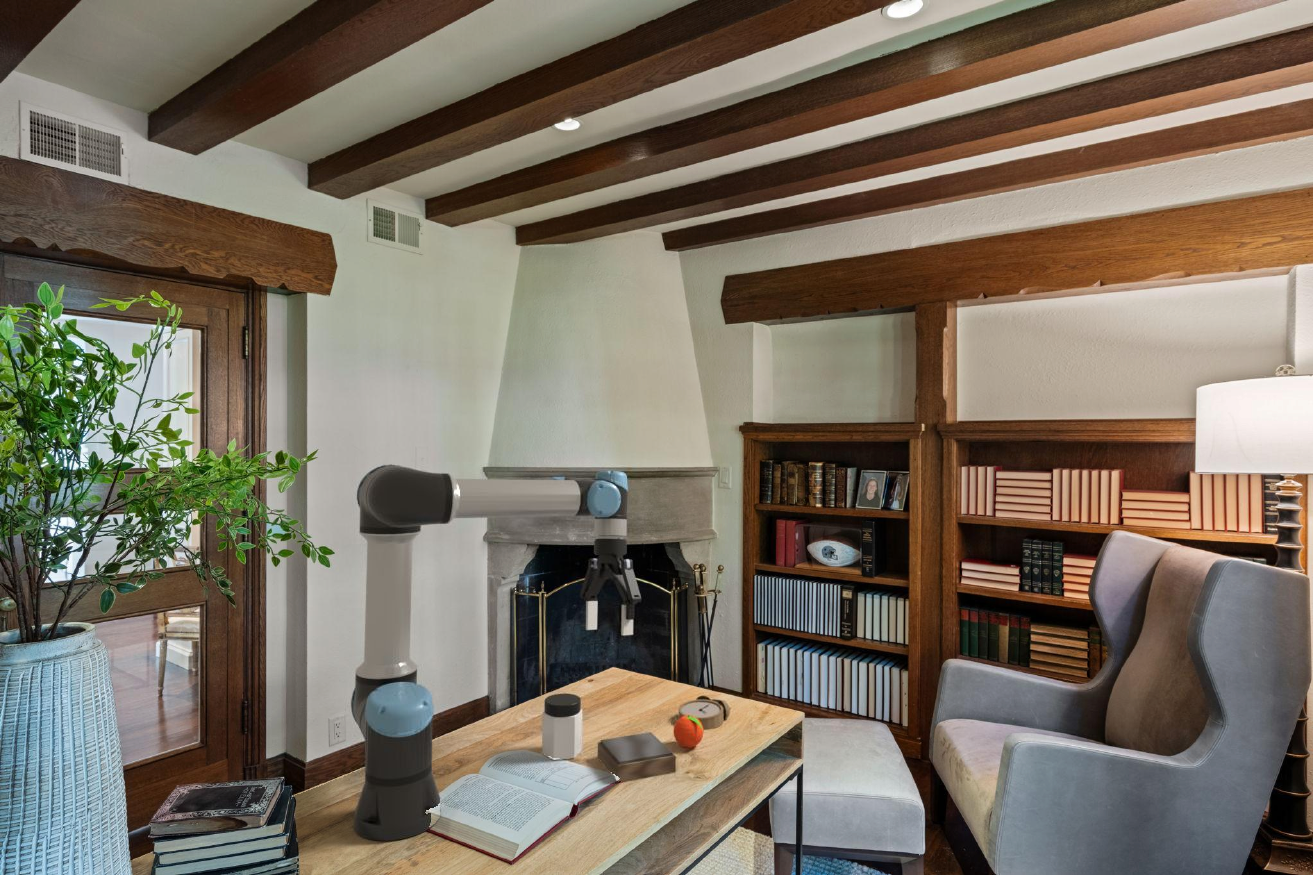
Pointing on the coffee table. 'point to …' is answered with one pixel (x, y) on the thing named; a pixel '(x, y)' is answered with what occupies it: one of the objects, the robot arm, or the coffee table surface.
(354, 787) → the coffee table surface
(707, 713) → the alarm clock
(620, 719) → the coffee table surface
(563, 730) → the jar
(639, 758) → the stand
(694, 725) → the clementine
